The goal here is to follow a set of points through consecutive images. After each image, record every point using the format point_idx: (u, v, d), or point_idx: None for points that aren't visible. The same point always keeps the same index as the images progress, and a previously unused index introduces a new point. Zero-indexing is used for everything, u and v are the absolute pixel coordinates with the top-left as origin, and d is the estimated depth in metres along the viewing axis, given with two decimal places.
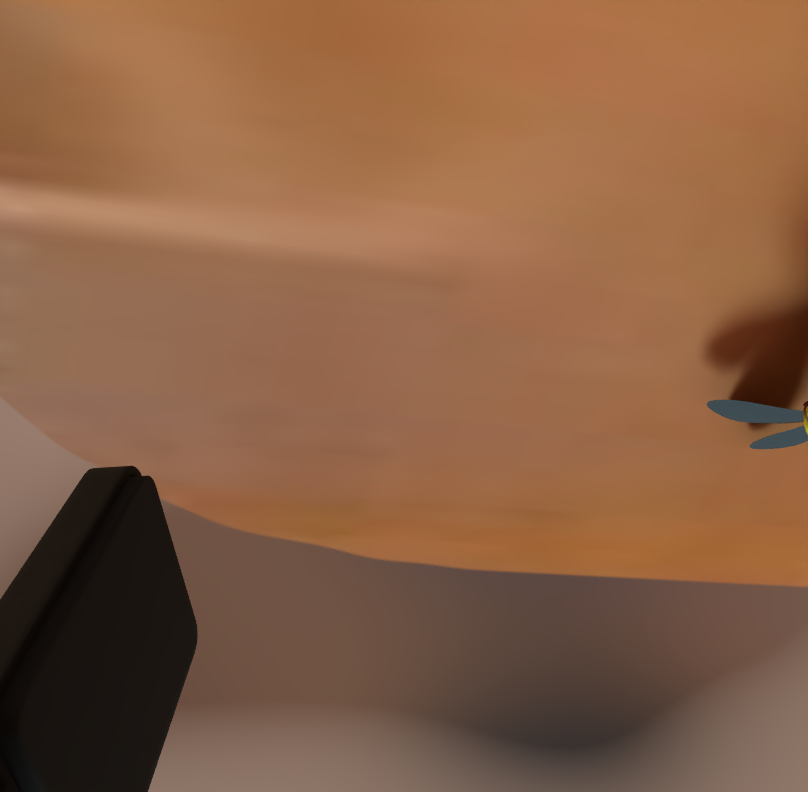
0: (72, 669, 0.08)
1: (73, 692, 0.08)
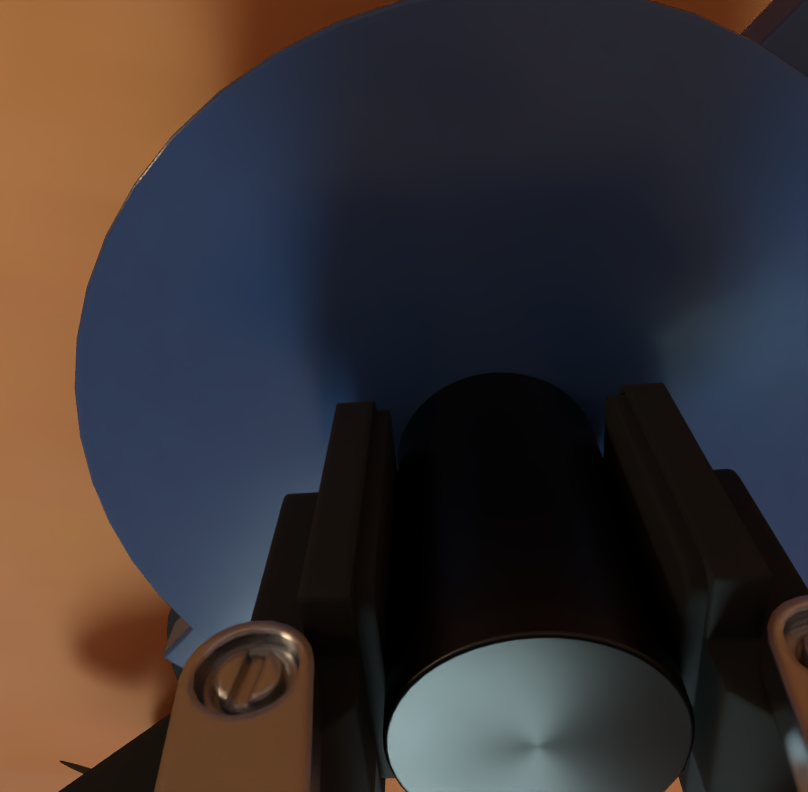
0: (383, 565, 0.08)
1: (384, 585, 0.08)
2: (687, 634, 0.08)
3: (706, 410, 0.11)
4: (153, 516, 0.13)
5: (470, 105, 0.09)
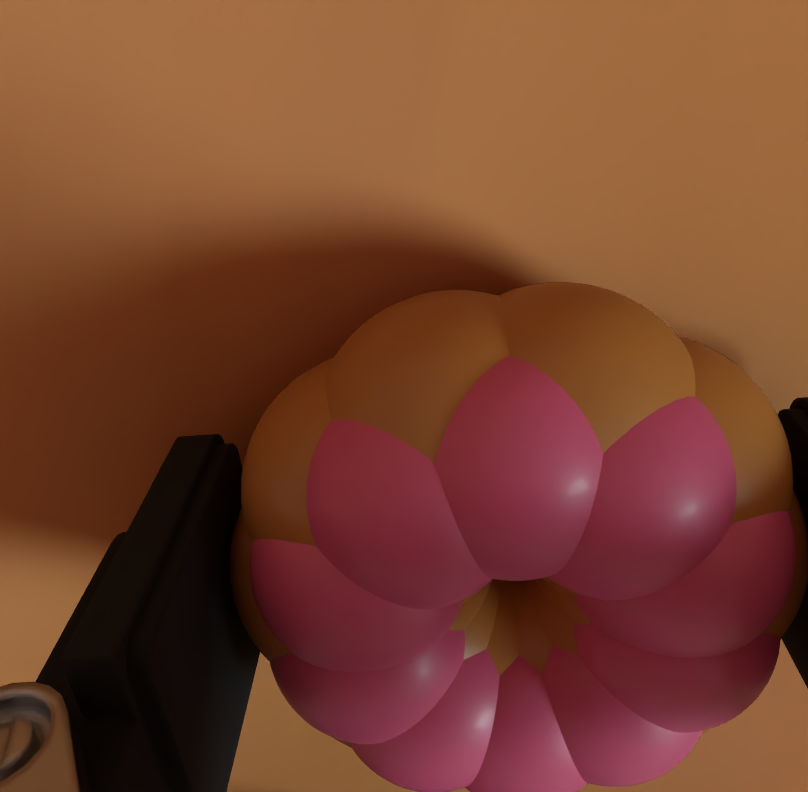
0: (185, 616, 0.08)
1: (186, 637, 0.08)
2: None
3: None
4: None
5: None
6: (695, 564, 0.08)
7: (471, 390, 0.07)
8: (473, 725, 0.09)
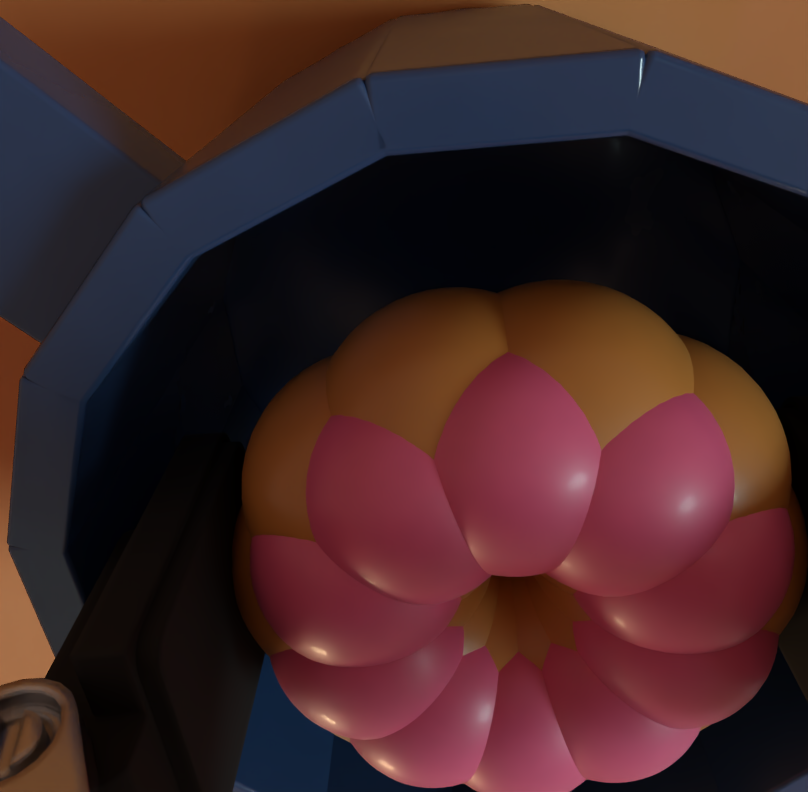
0: (193, 613, 0.08)
1: (194, 634, 0.08)
2: None
3: None
4: None
5: None
6: (693, 560, 0.08)
7: (469, 386, 0.08)
8: (472, 721, 0.09)
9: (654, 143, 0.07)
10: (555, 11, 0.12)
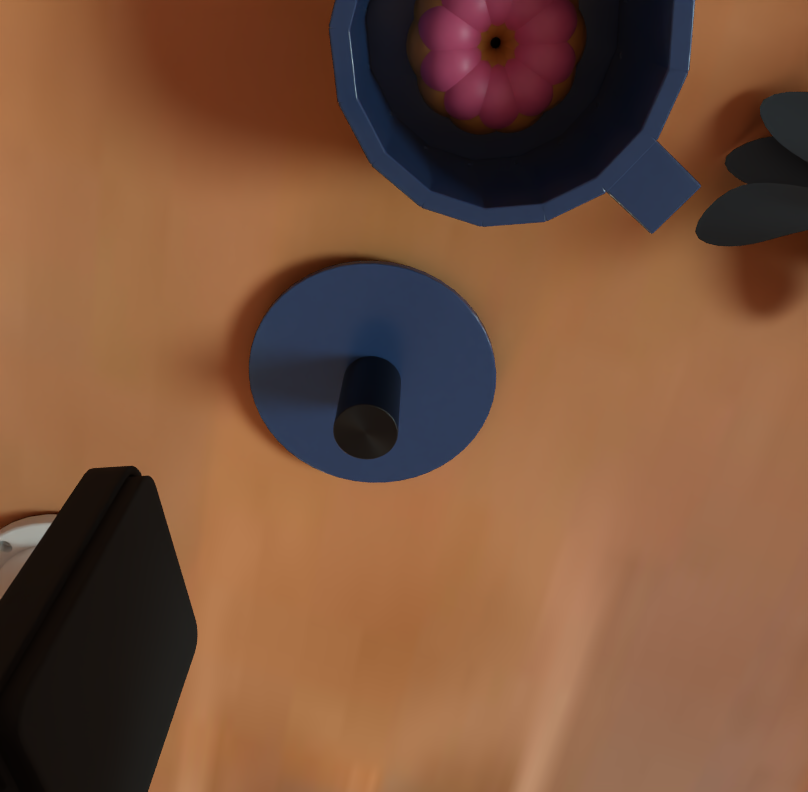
0: (72, 669, 0.08)
1: (73, 692, 0.08)
2: None
3: (353, 328, 0.39)
4: (396, 469, 0.43)
5: (274, 390, 0.40)
6: (544, 5, 0.29)
7: None
8: (483, 77, 0.30)
9: None
10: None
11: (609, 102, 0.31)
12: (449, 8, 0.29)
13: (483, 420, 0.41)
